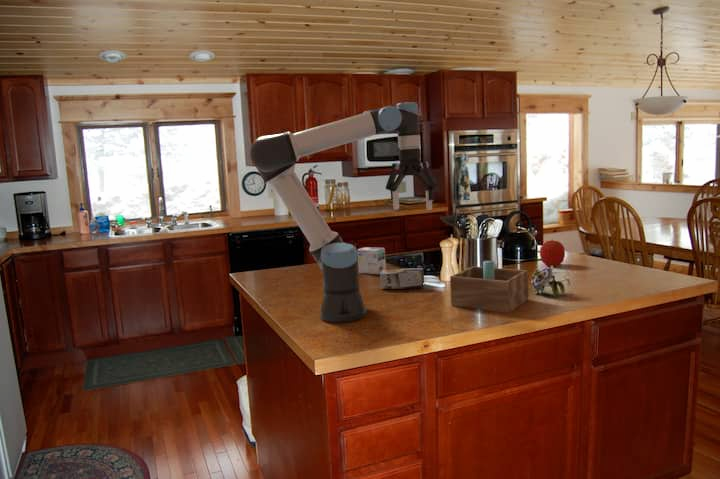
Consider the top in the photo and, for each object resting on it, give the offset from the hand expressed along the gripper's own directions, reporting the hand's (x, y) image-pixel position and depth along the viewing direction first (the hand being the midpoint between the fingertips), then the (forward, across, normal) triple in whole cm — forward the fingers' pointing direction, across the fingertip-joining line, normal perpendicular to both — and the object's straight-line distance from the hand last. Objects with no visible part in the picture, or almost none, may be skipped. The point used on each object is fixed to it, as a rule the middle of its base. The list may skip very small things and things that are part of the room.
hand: (412, 209), depth 195 cm
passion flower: (+32, -40, -22) cm, 56 cm away
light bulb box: (+32, +40, -28) cm, 58 cm away
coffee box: (+28, +20, -7) cm, 36 cm away
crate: (+32, -26, -4) cm, 41 cm away
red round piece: (+32, -27, -66) cm, 78 cm away
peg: (+32, -26, -4) cm, 41 cm away
